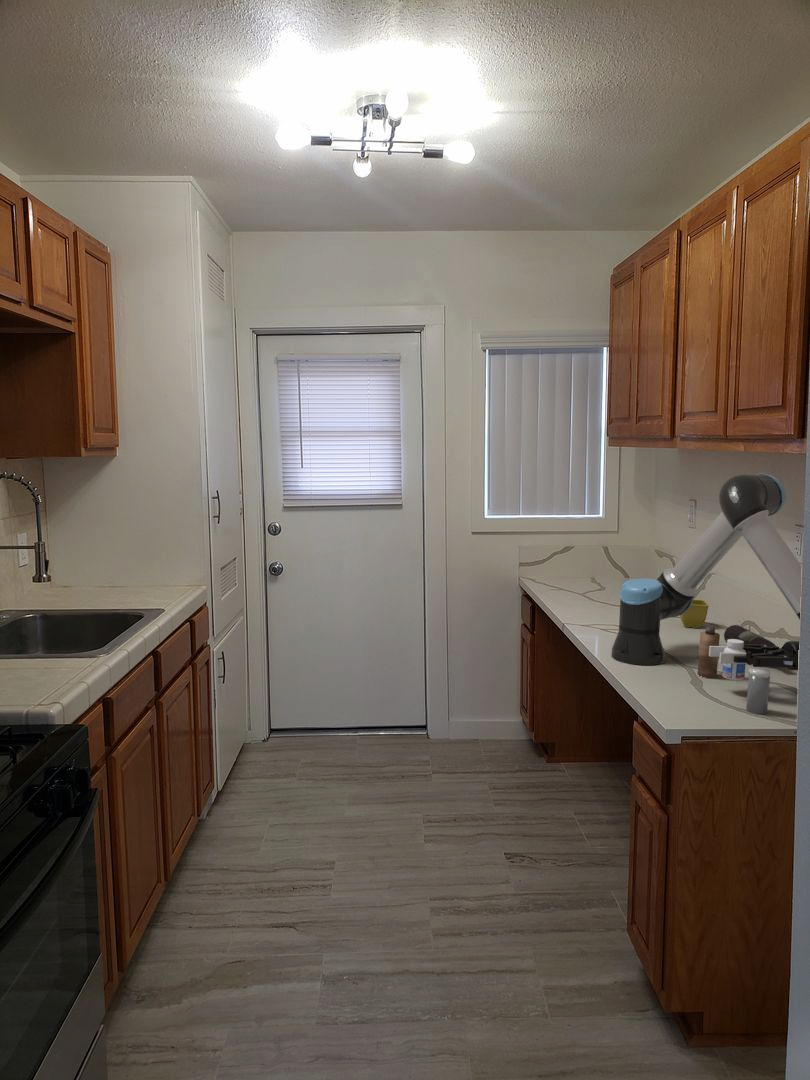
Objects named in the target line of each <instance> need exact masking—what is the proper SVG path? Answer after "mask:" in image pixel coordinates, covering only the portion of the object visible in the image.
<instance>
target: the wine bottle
mask: <svg viewBox="0 0 810 1080" xmlns="http://www.w3.org/2000/svg"><path fill="white" fill-rule="evenodd" d="M723 639H724V641H725V643H726V644H727V640H728V639H737V640H742V641H744V644H768V647H772V646H777V645H776V644H775V643H774V642H772V641H771V640H769V639H767V638H765V637H764V636H761V635H759V634H757V633H755V632H753V631H752V630H749V629H747V628H745V627H743V626H741V625H738V624H732V625H729V626H728V627H727V628H726V629H725V631H724V633H723Z"/></svg>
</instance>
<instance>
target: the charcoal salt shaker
mask: <svg viewBox="0 0 810 1080" xmlns="http://www.w3.org/2000/svg"><path fill="white" fill-rule="evenodd" d="M770 680H771V670H770V669H767V668H765V667H753V666H751V667H749V671H748V681H747V696H746V707H745V708H746V711H747V712H749V713H751V714H755V715H766V714H767V713H768V704H769V695H770V694H769V691H770Z"/></svg>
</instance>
